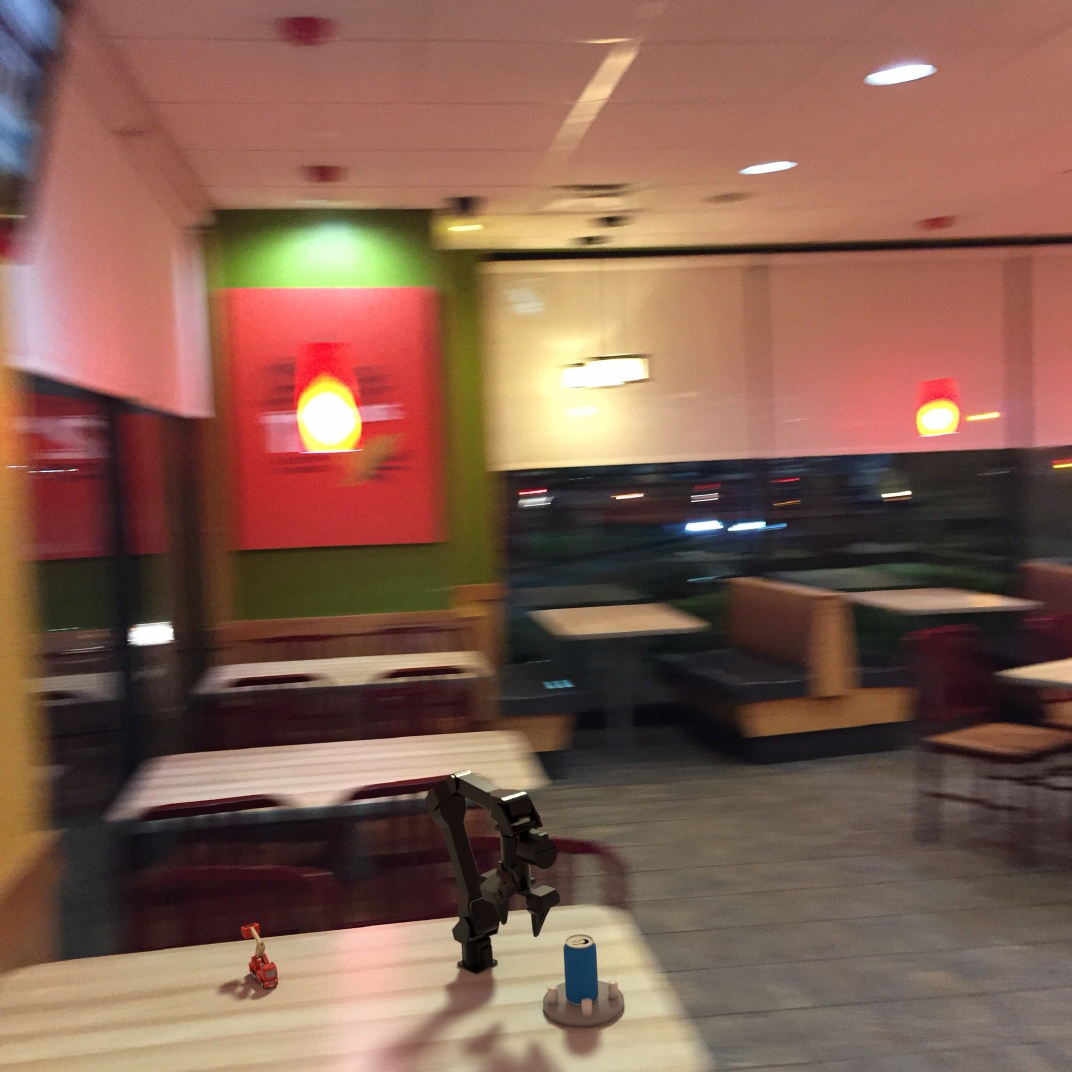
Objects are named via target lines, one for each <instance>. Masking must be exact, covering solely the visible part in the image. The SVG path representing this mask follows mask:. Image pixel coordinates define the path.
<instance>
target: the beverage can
mask: <svg viewBox="0 0 1072 1072" xmlns="http://www.w3.org/2000/svg"><path fill="white" fill-rule="evenodd" d="M564 942H565V943H564V944H563V964H564V965H563V966H564V968H563V969H564V982H565V990H566V998H567V1000H568V1001H570V1002H571V1003H572V1004H574V1005H578V1006H581V1000H582V999H584V998H590V999H591V1000H592V1003H593V1002H594V1001H595V1000H596V999H597V998H598V981H599V980H598V977H599V975H598V974H599V973H598V959H597V958H598V957H597V956H598V954H597V945H596V943H595V940H594V938H593V936H591V935H588V934H585V933H584V934H582V933H578V934H573V935H570V936H568V937H566V939H565V941H564Z"/></svg>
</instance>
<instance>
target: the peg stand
mask: <svg viewBox="0 0 1072 1072" xmlns="http://www.w3.org/2000/svg"><path fill="white" fill-rule="evenodd" d="M618 984H619V982H618V981H617V980H616V979H610V980H608V981H607V982H605V981H601V980H598V998H597V999H596V1000H595V1001H594V1002H593V1003H592V1000H591V999H590V998H584V999H582V1000H581V1006H578V1005H574V1004H572V1003H571V1002H570V1001H568V1000H567V998H566V990H565V981H564V982H562V983H558V984H556V985H555V984H550V985H548V986H547V992H546V993H545V994H544V996H543V999H542V1007H543V1008H542V1009H543V1012H544V1014H545V1016H546V1017H547V1018H548V1019H549V1020H551V1021H553V1022H554V1023H556V1024H558V1025H562V1026H565V1027H568V1028H569V1027H571V1028H576V1029H577V1028H580V1029H581V1028H582V1029H583V1028H585V1027H586V1028H593V1026H595V1027H600V1026H603V1025H605V1024H604V1023H606V1024H608V1023H607V1022H609V1021H611V1022H613V1021H614V1020H616V1019H617V1018H618V1017H619V1016H620V1015H621V1014H622V1013H623V1012H624V1010H625V1009H624V1008H625V999H624V998H625V997H624V994H623V993H622V990H620V988H619V985H618ZM620 1013H621V1014H620ZM618 1015H619V1016H618ZM615 1018H616V1019H615ZM613 1019H614V1020H613ZM612 1020H613V1021H612ZM609 1023H610V1022H609ZM602 1024H603V1025H602ZM599 1025H600V1026H599Z"/></svg>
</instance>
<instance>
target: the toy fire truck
mask: <svg viewBox="0 0 1072 1072" xmlns="http://www.w3.org/2000/svg"><path fill="white" fill-rule="evenodd" d="M240 933H241V936H242V937H243V939H244V940H248V939H251V938H254V939H255V941H256V946H255V952H254V955H253V956H250V959H251V960H250V962H248V971H249V973H250V974H251V975H250V976H251V977H253V979H254V978H255V979H256V981H257V982H258V983H259V984H260V985H261V988H262V987H264V988H263V989H268V988H273V987H275V986H277V985H278V984H279V978H278V975H279V973H278V968H277V965H276V963H275V962H273V961H271V962H270V960H269V958H268V956H267V954H266V953H265V950H266V944H265V941H264V940H262V939H261V937H260V925H259V923H255V922H254V923H251V924H248V925H244V926H241V927H240ZM255 979H254V980H255Z"/></svg>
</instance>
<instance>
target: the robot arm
mask: <svg viewBox="0 0 1072 1072" xmlns="http://www.w3.org/2000/svg"><path fill="white" fill-rule="evenodd" d="M528 794H529V793H527V792H525V791H524V790H519V789H516V788H513V789H511V788H510V789H509V788H505V789H504V788H501V787H499V786H496V785H494V784H493V783H491V782H489V781H486V780H485V779H483V778H482V777H478V776H477V775H475V774H473V772H472V771H471V770H466V769H465V770H460V771H457V772H454V773H453V772H452V773H451V774H450V775H448V776H447V777H446V778H445V780H443V781H441V783H439V784H437V785H436V786H435V787H433V788H431V789H429V790H428V791H427V794H426V796H425V800H424V804H425V808H426V810H428V813H429V816H430V818H431V821H432V822H434V824H436V825H437V826H438V827H439V828H440V829H441V831H442V833H443V838H444V840H445V844H446V848H447V852H448V854H449V858H450V862H451V865H452V869H453V872H454V875H455V879H456V883H457V887H458V890H459V894H460V898H459V903H458V908H457V915H458V919H459V920H458V922H457V923H456V924H455V925H454V927H453V928H452V929H451V932H452V936H453V940H454V941H456V942H458V943H459V944H461V960H460V961H458V962H456V966H457V967H459V968H462V969H464V970H466V971H469V972H471V973H473V974H475V975H478V974H480V973H481V972H483V971H485V970H487V969H489V968H491V967H493V966H495V965H497V964H498V962H499V961H498V960H497V959H495V958H494V957H493V955H494V954H493V946H492V938H491V937H493V936H494V935H498V934H499V929H500V924H501V925H502V926H505V925H506V924H507V923H508V918H509V910H510V900H511V899H512V898H513V897H514V896H515V895H516V894H517V895H518V896H522V897H524V898H525V903H526V904H525V905H526V906H527V907H526V908H525V910H526V911H527V912H528V913H529V914H530V920H531V929H532V934H533V935H532V936H533V938H537V937H540V933H541V930H542V928H543V926H544V923H545V921H546V918H547V917H548V914H549V913H550V910H551V908H553V907H555V906H557V905H558V904H560V903H561V895H560V894H561V893H560V891H559V890H558V889H556V888H554V887H551V886H549V885H545V884H543V885H541V886H539V887H537V888H532V886H533V885H534V884H536V878H535V877H532V874H531V871H532V870H531V866H534V867H535V868H539V869H541V870H547V869H549V868H551V867H552V866H553V865H554V864H555V862H556V861H557V857H558V853H559V850H558V847H557V845H556V843H555V842H554V841H553V840H552V839H550V837H549V833H548V832H546V831H541V830H538V829H541V828H543V823H542V821H541V816H540V814H539V813H538V811H537V809H536V807H535V806H534V803H533V801H532V798H531V797H530V795H528ZM466 800H470V801H472V802H474V803H476V804H477V805H479V806H481V807H483V808H485V809H487V810H488V812H489V814H490V815H489V816H490V817H491V819H492V820H493V821H495V822H496V823H497V824H495V825H494V827H493V830H494V831H496V832H499V834H500V836H499V837H500V854H501V860H498V861H497V864H496V868H493V869H490V870H488V871H486V872H484V873H481V874H479V869H478V867H477V864H476V860H475V857H474V852H473V849H472V846H471V842H470V839H469V835H468V832H467V829H466V825H465V819H466V815H467V810H468V806H467V801H466ZM526 820H528V821H526ZM523 821H525V822H523ZM520 822H522V823H520ZM518 823H519V824H518Z"/></svg>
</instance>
